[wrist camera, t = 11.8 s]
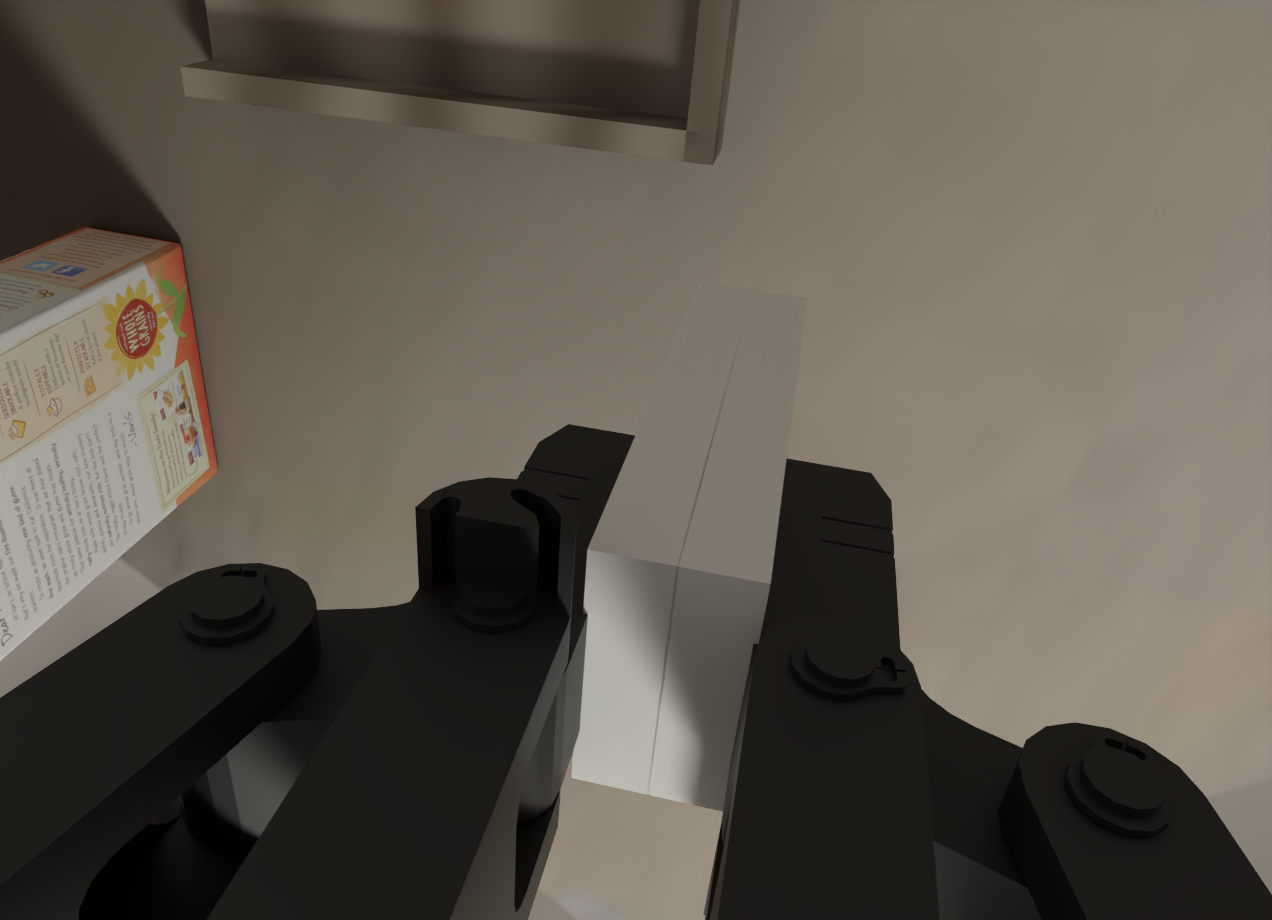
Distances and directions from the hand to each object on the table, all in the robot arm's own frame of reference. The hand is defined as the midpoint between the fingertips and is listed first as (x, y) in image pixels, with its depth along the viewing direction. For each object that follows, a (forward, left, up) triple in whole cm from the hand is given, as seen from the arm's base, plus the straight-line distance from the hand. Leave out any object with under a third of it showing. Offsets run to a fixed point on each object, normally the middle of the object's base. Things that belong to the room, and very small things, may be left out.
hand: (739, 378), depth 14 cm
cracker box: (+33, +18, -30) cm, 48 cm away
